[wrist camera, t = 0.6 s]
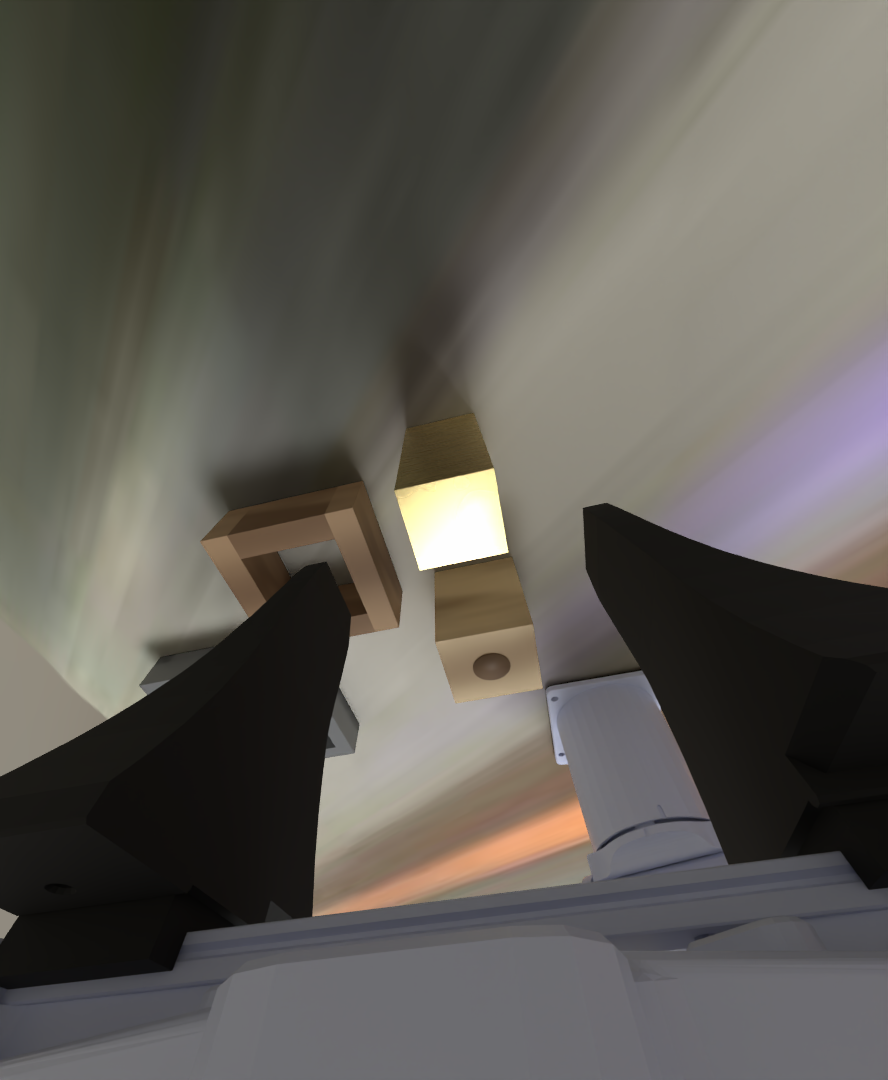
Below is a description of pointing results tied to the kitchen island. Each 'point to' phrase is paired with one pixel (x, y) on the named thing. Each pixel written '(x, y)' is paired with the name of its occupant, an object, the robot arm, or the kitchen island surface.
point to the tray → (342, 718)
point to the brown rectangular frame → (335, 513)
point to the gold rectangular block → (449, 493)
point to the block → (485, 631)
